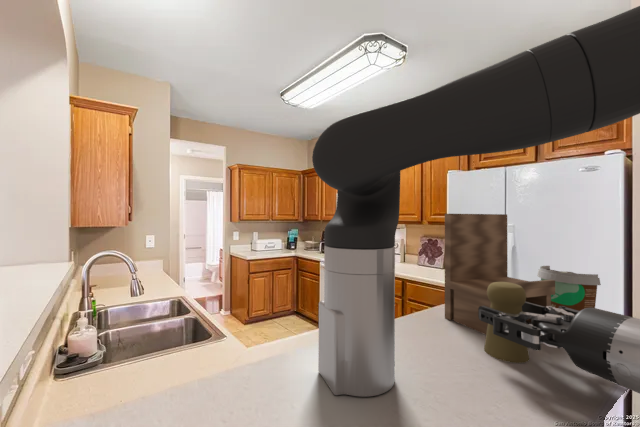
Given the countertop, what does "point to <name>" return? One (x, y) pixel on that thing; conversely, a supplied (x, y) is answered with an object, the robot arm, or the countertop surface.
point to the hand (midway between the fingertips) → (500, 309)
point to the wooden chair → (480, 267)
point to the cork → (508, 301)
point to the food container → (571, 288)
